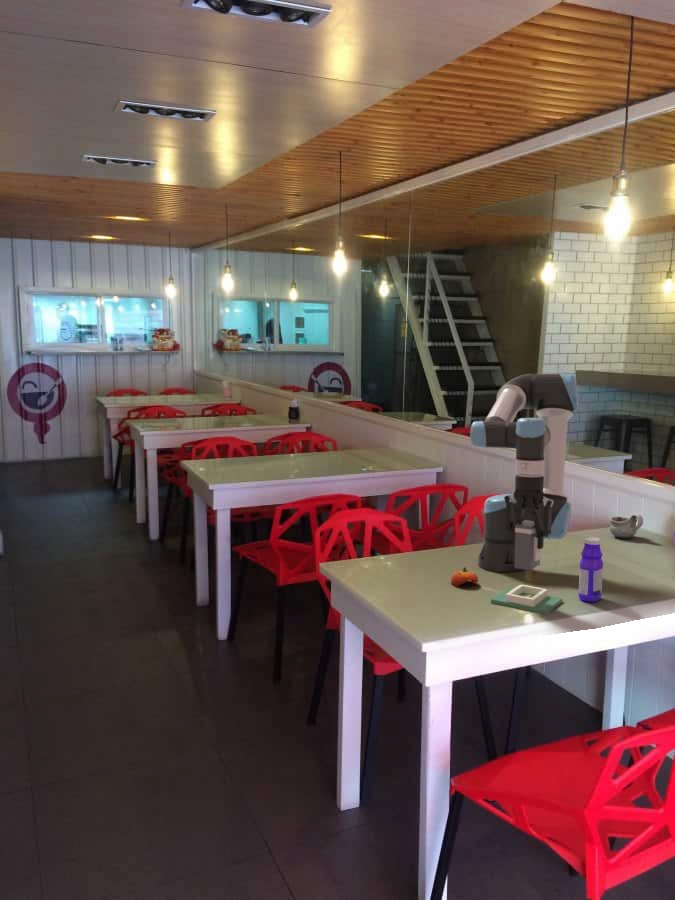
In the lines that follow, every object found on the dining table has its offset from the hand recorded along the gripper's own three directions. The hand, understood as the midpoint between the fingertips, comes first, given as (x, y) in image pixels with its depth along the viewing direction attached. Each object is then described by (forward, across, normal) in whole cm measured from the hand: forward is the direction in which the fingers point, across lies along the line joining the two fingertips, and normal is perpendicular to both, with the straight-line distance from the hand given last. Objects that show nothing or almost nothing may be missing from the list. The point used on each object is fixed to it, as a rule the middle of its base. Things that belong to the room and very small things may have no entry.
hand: (527, 558), depth 201 cm
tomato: (+13, -21, +5) cm, 25 cm away
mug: (+12, +4, +88) cm, 89 cm away
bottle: (+13, +14, +13) cm, 23 cm away
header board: (+13, 0, 0) cm, 13 cm away
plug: (+2, 0, 0) cm, 2 cm away
